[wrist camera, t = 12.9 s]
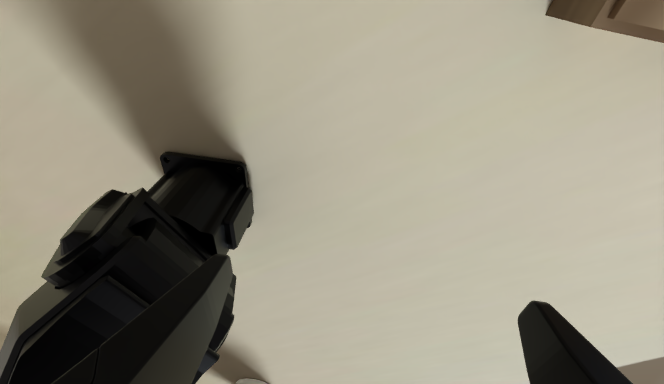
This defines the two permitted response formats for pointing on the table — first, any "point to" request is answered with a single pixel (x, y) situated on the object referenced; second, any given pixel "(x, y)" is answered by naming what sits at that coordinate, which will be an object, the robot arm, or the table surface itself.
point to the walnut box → (615, 16)
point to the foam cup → (250, 381)
